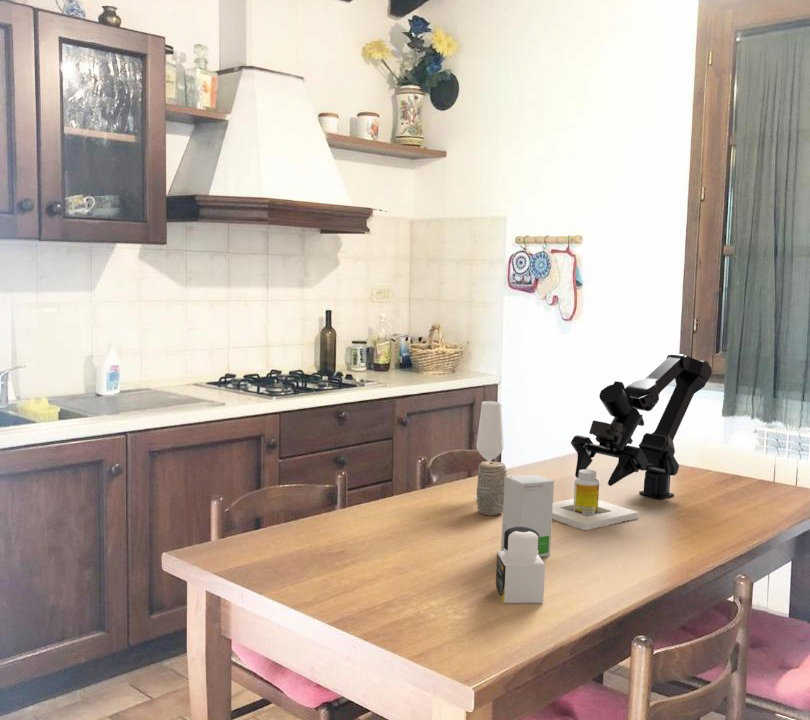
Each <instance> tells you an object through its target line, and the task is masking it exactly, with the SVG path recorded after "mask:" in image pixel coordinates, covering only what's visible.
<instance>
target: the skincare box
mask: <svg viewBox="0 0 810 720" xmlns="http://www.w3.org/2000/svg"><path fill="white" fill-rule="evenodd" d="M554 486H555V481H554V480H553V479H550V478H548V477H544V476H541V475H539V474H525V475H524V474H519V475H506V476H505V477H504V503H503V512H502V524H501V527H502V529H501V530H502V531H501V542H500V544H501V547H500V551H504V533H505V531H506V530H507V529H510V528H513V527H527V528H530V529H533V530H535V531H536V532H538V534H539V551H538V555H539V557H540V558H542V557H550V556H551V543H552V542H551V541H552V527H553V526H552V525H553V524H552V521H553V519H552V507H553V503H554Z"/></svg>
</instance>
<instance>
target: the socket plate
mask: <svg viewBox="0 0 810 720" xmlns="http://www.w3.org/2000/svg"><path fill="white" fill-rule="evenodd" d="M573 508H574V498H570V499H565V500H559V501H555V502H554V501H553V507H552V520H553V519H554V520H553V521H556V520H557V521H556V522H559V521H560V522H559V523H561V522H563V523H562V524H564V523H565V525H567V524H568V526H570V525H571V526H570V527H573V528H577V529H579V530H581V529H582V531H584V530H586V531H590V530H593V528H594V529H597V528H598V527H599V528H603V527H606V526H611V524H612V525H616V524H620V523H623V521H625V522H628V521H627V520H629V521H633V520H637V519H636V518H638V519H639V511H636V510H632V509H629V508H626V507H624V506H620V505H618V504H617V505H616V504H614V503H610V502H606V501H604V500H600V499H598V512H597V515H592V516H588V517H587V516H584V515H581V514H578V513H575V512H574V511H573ZM632 519H633V520H632ZM615 523H616V524H615ZM599 528H598V529H599Z"/></svg>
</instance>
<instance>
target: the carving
mask: <svg viewBox="0 0 810 720" xmlns="http://www.w3.org/2000/svg"><path fill="white" fill-rule="evenodd" d="M477 471H478V472H477V487H476V496H477V500H476V504H477V505H476V506H477V512H478V513H479V514H480V515H484V516H497V515H500V514H503V503H504V477H505V476H508V475H507V474H508V473H507V468H506V465H505V463H503V462H501V461H500V462H499V461H487V460H485V461H481V462H480V463H479V465H478V470H477Z"/></svg>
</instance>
